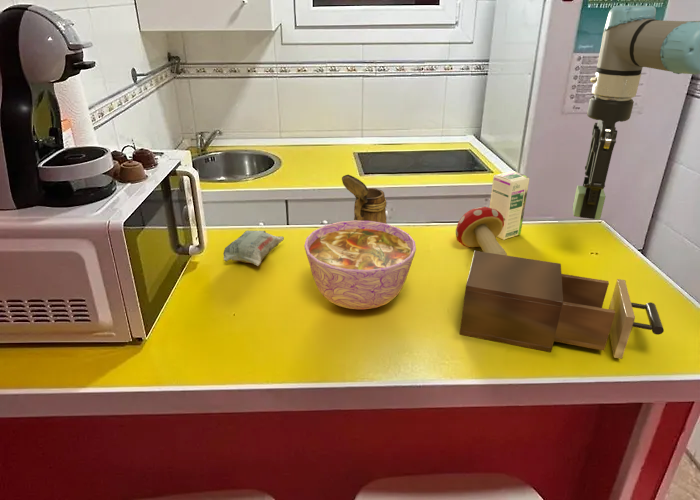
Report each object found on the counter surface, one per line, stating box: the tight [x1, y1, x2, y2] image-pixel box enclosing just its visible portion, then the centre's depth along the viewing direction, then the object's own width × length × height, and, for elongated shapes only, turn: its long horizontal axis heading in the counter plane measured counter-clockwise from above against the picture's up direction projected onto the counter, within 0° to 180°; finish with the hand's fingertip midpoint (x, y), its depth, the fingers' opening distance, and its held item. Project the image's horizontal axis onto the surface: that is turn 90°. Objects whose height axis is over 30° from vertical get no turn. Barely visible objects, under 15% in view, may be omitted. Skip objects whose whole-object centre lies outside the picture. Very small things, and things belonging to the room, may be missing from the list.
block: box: [572, 185, 606, 220], centre depth 106 cm, size 5×5×5 cm
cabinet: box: [459, 250, 563, 353], centre depth 89 cm, size 15×13×10 cm
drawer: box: [554, 273, 665, 360], centre depth 86 cm, size 19×12×8 cm, turn 72°
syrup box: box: [489, 170, 530, 241], centre depth 120 cm, size 6×6×14 cm
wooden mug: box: [341, 174, 388, 224], centre depth 115 cm, size 9×14×18 cm, turn 145°
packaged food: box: [223, 229, 285, 267], centre depth 111 cm, size 9×12×5 cm
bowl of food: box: [303, 219, 417, 311], centre depth 96 cm, size 20×20×12 cm
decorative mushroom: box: [455, 206, 508, 256], centre depth 112 cm, size 11×11×15 cm
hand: (586, 212), depth 107 cm, fingers closed on block, 5 cm apart
